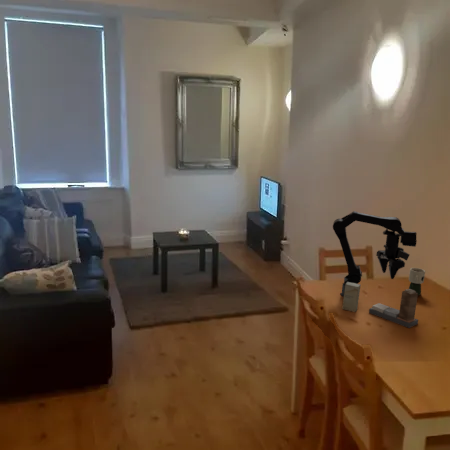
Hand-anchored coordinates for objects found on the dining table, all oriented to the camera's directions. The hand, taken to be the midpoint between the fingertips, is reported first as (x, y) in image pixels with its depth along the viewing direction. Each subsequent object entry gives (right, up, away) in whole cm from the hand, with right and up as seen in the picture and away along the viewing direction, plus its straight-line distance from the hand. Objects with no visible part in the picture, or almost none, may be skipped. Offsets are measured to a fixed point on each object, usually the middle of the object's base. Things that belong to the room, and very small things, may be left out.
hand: (388, 275), depth 232 cm
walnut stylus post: (0, -16, -22) cm, 27 cm away
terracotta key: (0, -18, -22) cm, 28 cm away
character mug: (+18, -11, +15) cm, 26 cm away
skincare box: (-21, -15, -9) cm, 27 cm away
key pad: (-4, -17, -17) cm, 24 cm away
